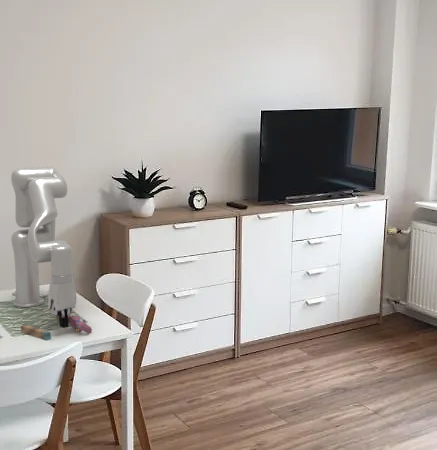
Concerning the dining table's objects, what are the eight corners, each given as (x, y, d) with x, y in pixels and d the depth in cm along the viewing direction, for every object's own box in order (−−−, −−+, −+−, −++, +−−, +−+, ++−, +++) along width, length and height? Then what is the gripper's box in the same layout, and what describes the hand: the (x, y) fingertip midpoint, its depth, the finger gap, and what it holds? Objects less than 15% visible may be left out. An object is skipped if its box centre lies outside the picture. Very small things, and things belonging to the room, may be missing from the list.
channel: (21, 332, 253) (20, 325, 253) (60, 319, 268) (60, 313, 268) (46, 340, 245) (46, 333, 245) (85, 326, 261) (85, 320, 260)
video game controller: (69, 331, 258) (62, 317, 255) (79, 324, 260) (72, 310, 257) (84, 338, 251) (77, 323, 248) (93, 331, 253) (87, 316, 250)
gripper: (70, 273, 258) (72, 319, 261) (39, 281, 246) (41, 330, 249) (84, 276, 253) (86, 323, 257) (53, 284, 241) (55, 334, 245)
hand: (63, 326), depth 253 cm, fingers closed
